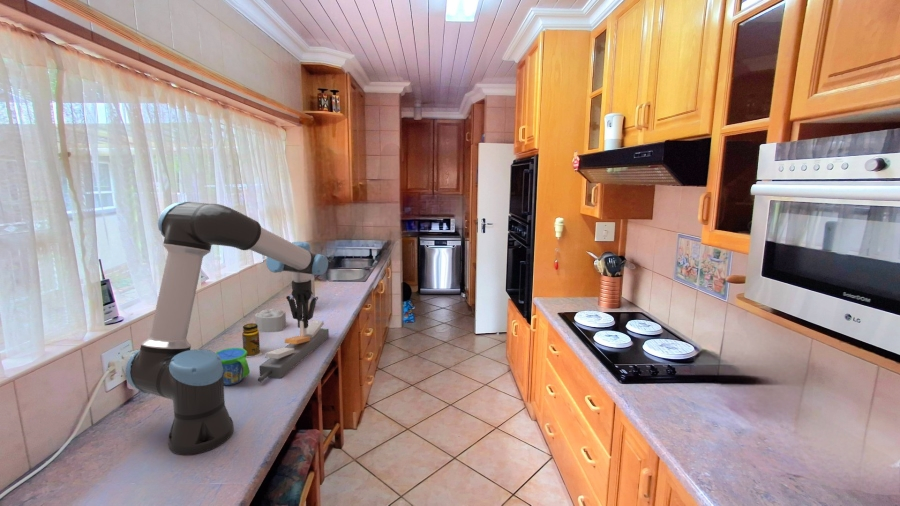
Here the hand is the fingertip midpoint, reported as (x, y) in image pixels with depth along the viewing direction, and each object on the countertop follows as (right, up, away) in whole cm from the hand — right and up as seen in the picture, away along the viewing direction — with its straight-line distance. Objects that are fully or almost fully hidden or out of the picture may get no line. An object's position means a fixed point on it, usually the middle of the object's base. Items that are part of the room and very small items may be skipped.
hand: (303, 335), depth 168 cm
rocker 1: (-2, -3, -17) cm, 18 cm away
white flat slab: (+1, +1, +8) cm, 8 cm away
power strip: (-1, -8, -6) cm, 10 cm away
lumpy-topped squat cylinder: (-25, -2, +25) cm, 35 cm away
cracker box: (-18, +3, +54) cm, 56 cm away
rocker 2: (-1, -1, -4) cm, 5 cm away
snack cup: (-16, -11, -26) cm, 33 cm away
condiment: (-21, -7, -4) cm, 22 cm away
